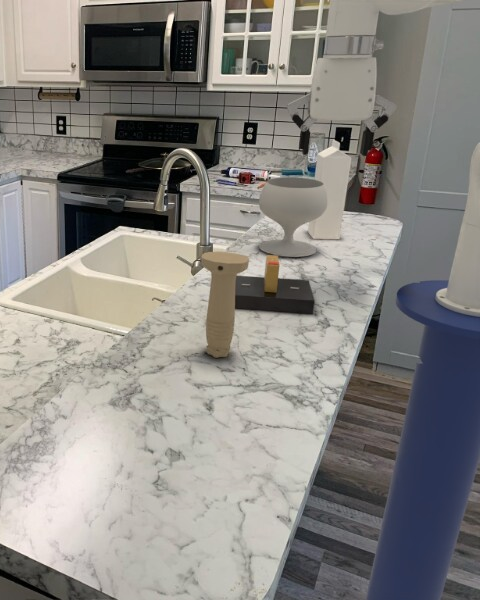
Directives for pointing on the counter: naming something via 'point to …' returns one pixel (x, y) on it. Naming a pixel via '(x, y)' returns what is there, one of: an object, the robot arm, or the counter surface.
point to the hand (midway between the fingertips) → (333, 154)
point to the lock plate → (274, 295)
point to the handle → (222, 299)
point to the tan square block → (271, 273)
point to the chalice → (292, 211)
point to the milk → (331, 191)
